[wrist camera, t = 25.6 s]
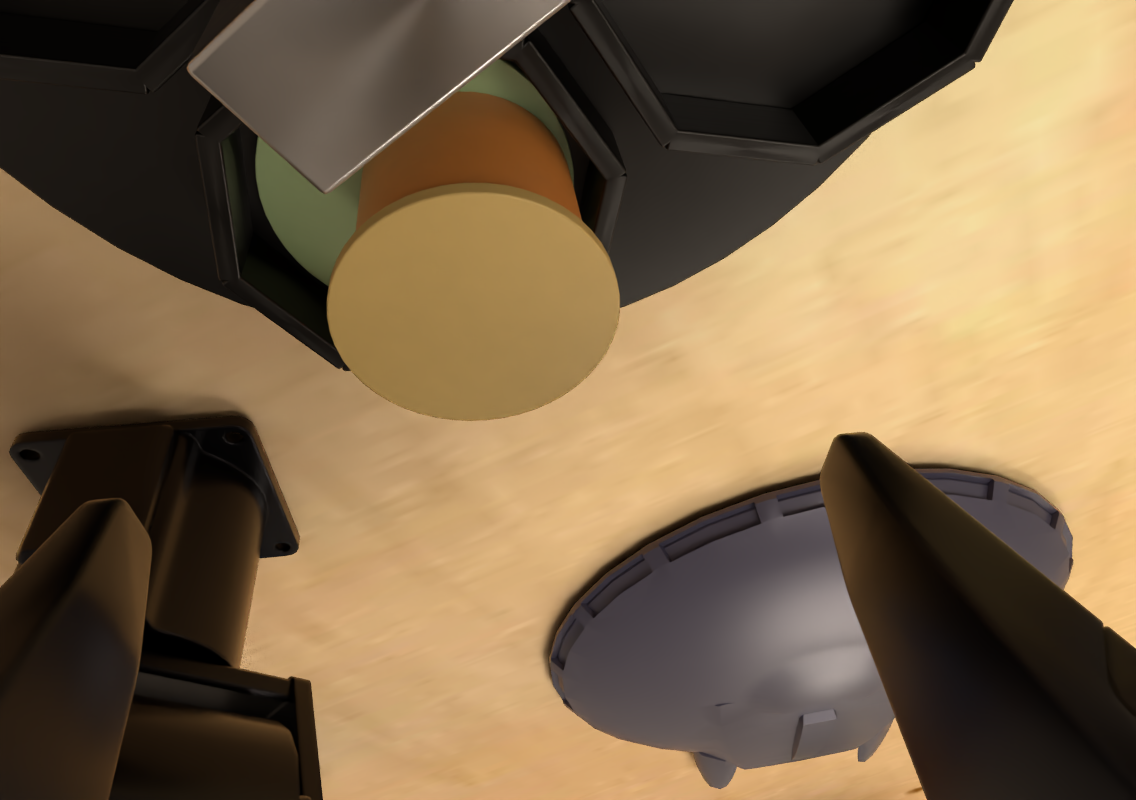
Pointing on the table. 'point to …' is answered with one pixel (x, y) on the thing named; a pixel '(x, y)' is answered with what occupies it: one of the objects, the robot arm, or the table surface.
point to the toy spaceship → (757, 630)
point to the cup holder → (422, 83)
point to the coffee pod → (472, 269)
